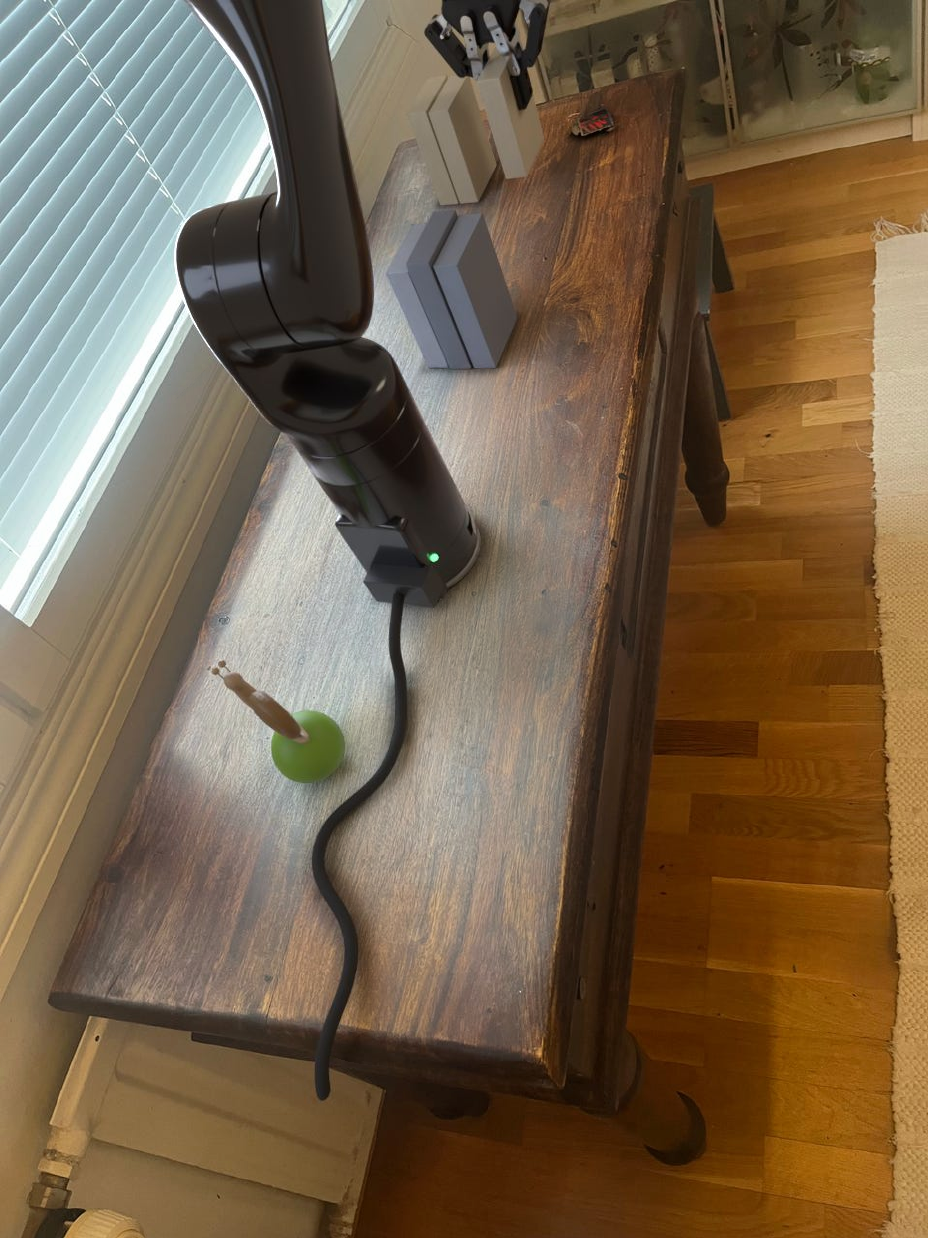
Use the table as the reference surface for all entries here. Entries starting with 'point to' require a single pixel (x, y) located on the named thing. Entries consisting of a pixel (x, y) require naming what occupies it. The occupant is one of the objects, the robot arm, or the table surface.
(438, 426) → the table surface
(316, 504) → the table surface
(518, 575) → the table surface
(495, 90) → the cream book
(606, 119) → the black red flat piece
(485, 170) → the cream books
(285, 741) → the snail figurine
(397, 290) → the grey books
